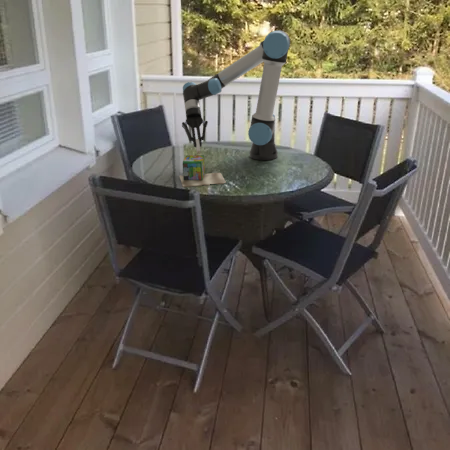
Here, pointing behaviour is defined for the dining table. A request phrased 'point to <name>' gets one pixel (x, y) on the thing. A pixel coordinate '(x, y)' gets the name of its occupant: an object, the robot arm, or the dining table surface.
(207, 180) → the board
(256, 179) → the dining table surface
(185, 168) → the chalk box
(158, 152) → the dining table surface
